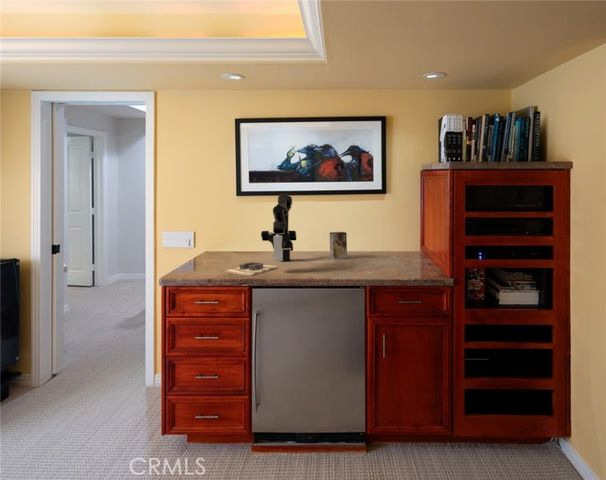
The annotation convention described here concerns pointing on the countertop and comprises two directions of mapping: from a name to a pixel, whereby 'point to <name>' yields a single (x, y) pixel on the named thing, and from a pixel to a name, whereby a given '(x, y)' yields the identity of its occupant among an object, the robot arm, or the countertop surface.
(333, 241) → the coffee box
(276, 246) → the block
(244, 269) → the board
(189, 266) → the countertop surface
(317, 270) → the countertop surface
